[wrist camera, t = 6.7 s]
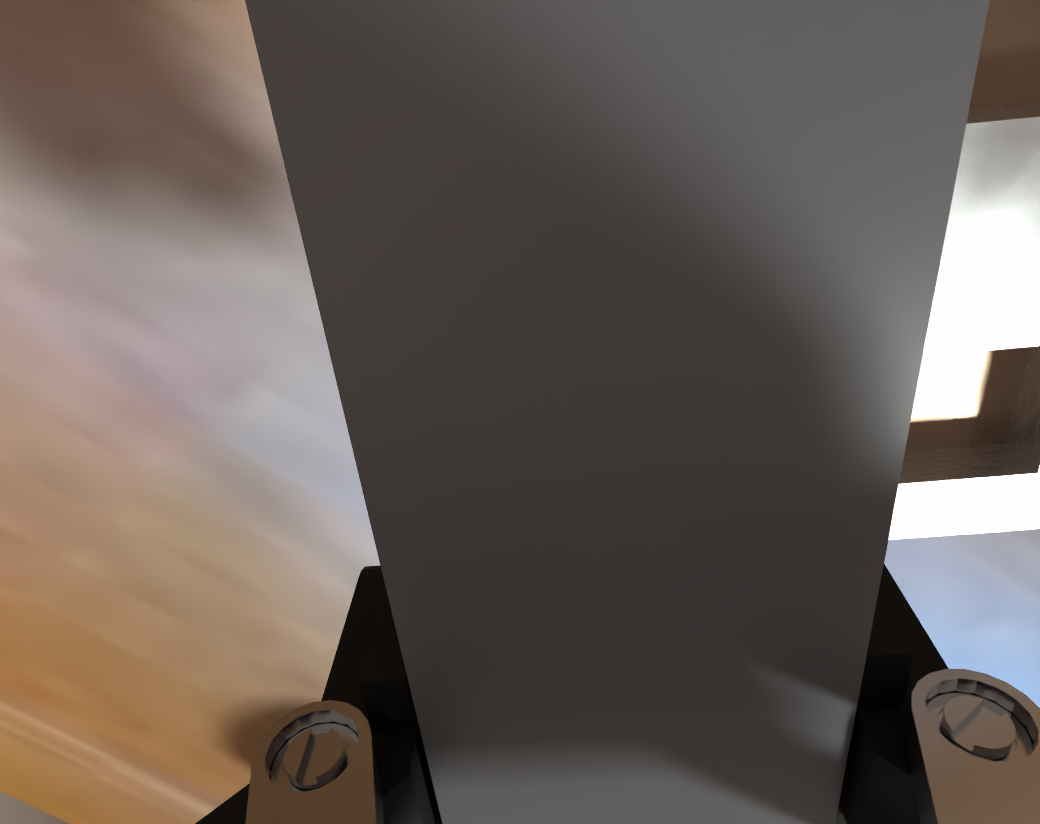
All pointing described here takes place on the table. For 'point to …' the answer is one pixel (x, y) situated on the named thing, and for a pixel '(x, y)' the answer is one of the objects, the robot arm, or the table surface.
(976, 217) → the mounting plate
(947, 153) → the grey bar
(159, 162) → the table surface
